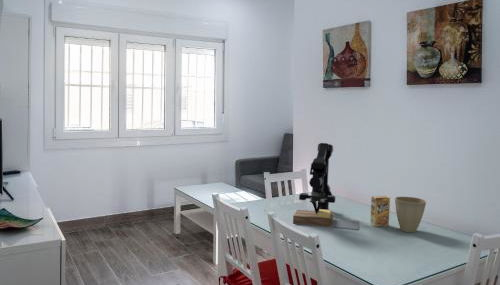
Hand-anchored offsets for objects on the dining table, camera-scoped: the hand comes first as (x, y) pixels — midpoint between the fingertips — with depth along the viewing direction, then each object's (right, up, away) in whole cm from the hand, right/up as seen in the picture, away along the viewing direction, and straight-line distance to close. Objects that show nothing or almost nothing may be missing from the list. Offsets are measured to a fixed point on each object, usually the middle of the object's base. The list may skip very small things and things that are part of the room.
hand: (316, 213), depth 228 cm
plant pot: (+45, -7, -11) cm, 47 cm away
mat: (+15, -5, -3) cm, 16 cm away
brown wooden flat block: (-2, -4, +1) cm, 5 cm away
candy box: (+33, -6, -3) cm, 33 cm away
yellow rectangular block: (+4, -1, -1) cm, 4 cm away
